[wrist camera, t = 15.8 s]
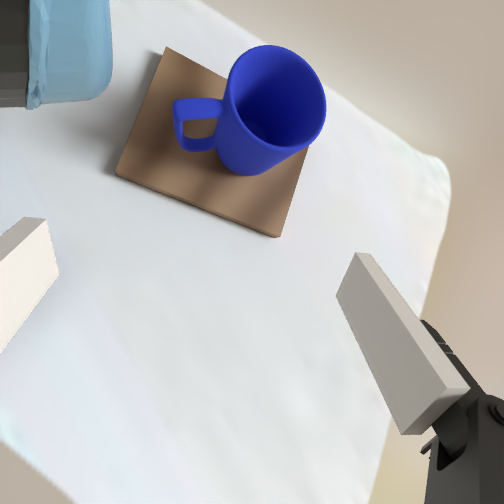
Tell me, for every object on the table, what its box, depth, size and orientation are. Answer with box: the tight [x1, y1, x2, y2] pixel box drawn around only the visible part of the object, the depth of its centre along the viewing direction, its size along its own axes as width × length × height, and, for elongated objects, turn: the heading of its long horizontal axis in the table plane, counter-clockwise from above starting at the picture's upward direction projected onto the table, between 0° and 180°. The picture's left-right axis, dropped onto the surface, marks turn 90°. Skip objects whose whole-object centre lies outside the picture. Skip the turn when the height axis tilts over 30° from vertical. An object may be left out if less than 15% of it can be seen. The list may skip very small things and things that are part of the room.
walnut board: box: [115, 47, 309, 238], centre depth 31 cm, size 18×14×2 cm
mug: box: [172, 45, 326, 176], centre depth 26 cm, size 8×12×10 cm
